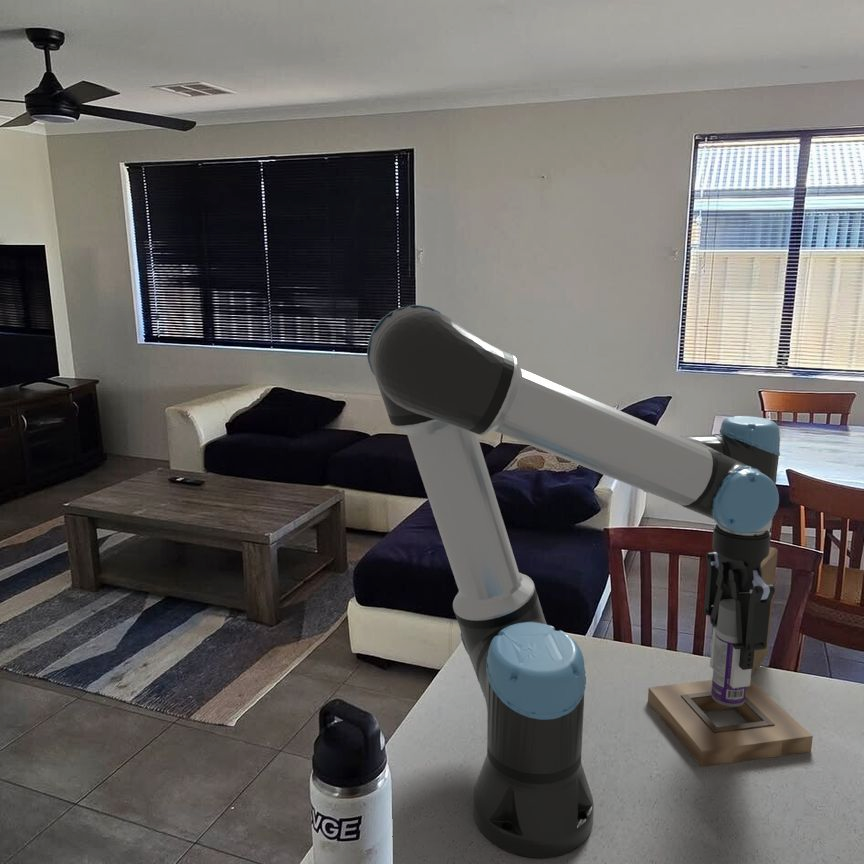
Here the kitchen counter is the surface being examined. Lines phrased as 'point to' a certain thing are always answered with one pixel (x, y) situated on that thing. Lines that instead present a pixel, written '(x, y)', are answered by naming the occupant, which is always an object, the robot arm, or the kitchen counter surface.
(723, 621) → the container
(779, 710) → the board
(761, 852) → the kitchen counter surface
